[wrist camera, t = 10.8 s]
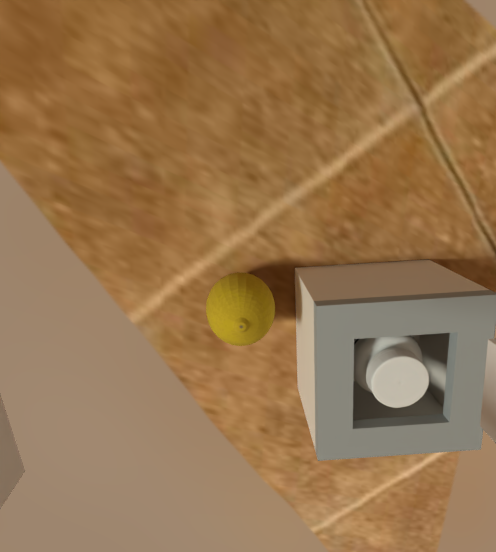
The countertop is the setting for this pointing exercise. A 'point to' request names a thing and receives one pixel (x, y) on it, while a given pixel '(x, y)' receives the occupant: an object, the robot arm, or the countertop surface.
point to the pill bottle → (391, 369)
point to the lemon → (240, 309)
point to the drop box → (387, 323)
